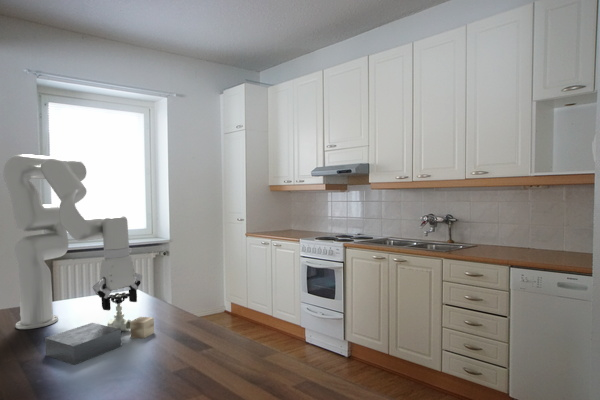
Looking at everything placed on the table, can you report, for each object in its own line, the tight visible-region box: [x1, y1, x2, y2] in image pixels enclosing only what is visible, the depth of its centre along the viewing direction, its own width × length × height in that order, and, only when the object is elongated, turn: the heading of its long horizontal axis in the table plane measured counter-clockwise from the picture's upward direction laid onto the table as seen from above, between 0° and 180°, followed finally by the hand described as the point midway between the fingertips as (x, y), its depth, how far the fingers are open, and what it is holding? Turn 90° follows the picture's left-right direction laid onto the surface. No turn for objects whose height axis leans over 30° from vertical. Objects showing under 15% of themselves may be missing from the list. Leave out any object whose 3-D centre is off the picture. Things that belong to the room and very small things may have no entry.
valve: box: [106, 292, 132, 332], centre depth 129 cm, size 7×7×12 cm
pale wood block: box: [129, 316, 155, 339], centre depth 125 cm, size 5×5×5 cm
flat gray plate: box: [44, 322, 122, 366], centre depth 113 cm, size 14×14×5 cm
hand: (120, 305), depth 128 cm, fingers open, 9 cm apart
